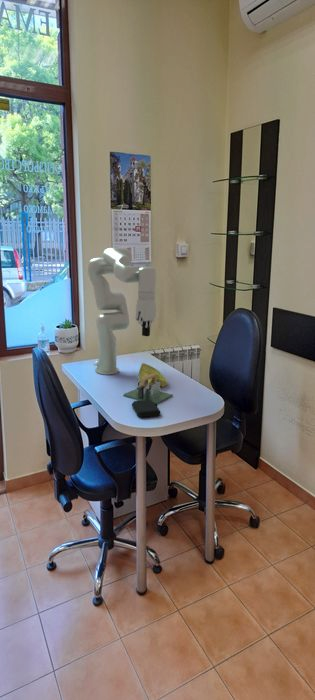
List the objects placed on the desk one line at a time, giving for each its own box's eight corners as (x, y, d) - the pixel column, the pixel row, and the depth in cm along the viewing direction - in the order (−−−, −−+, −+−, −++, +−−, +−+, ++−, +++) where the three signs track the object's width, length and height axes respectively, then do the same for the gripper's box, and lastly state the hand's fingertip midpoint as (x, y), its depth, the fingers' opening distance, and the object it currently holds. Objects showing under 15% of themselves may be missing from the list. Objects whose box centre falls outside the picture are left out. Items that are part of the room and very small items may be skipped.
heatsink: (122, 396, 203) (122, 382, 201) (141, 387, 215) (141, 374, 213) (155, 405, 194) (155, 390, 192) (173, 395, 206) (173, 381, 204)
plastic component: (169, 382, 217) (152, 375, 213) (162, 395, 218) (144, 389, 214) (156, 368, 235) (140, 361, 231) (150, 380, 236) (134, 374, 232)
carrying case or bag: (164, 417, 181) (154, 404, 195) (164, 410, 181) (154, 398, 194) (138, 419, 178) (130, 406, 192) (138, 412, 178) (130, 399, 191)
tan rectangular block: (140, 387, 200) (140, 378, 199) (152, 382, 208) (152, 373, 206) (144, 388, 199) (144, 379, 198) (156, 383, 206) (156, 374, 205)
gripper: (149, 293, 207) (148, 332, 211) (129, 296, 195) (129, 337, 199) (162, 294, 203) (161, 334, 207) (143, 297, 191) (143, 339, 195)
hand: (145, 335), depth 203 cm, fingers closed
